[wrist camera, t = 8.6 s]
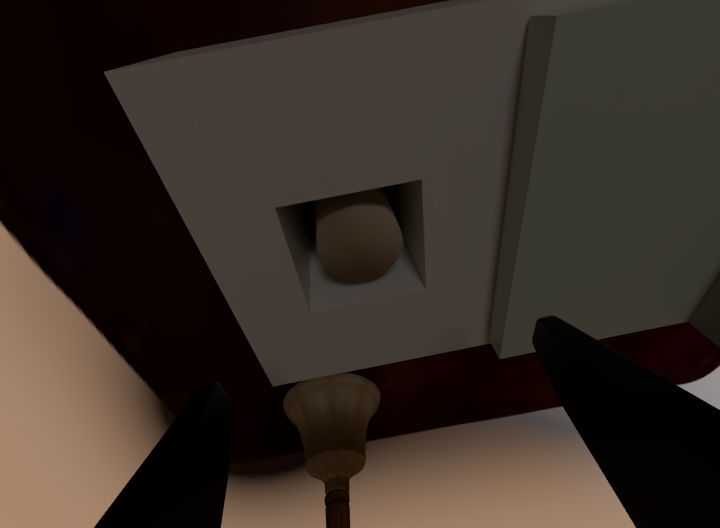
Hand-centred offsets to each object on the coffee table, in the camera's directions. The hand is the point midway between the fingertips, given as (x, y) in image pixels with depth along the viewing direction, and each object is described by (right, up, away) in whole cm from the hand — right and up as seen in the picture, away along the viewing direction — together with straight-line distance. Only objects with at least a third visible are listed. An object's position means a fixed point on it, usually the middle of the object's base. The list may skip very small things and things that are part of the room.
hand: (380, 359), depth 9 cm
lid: (+10, +5, +4) cm, 12 cm away
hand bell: (-3, -9, +20) cm, 22 cm away
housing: (+4, +8, +9) cm, 12 cm away
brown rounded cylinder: (-1, +6, +9) cm, 11 cm away
